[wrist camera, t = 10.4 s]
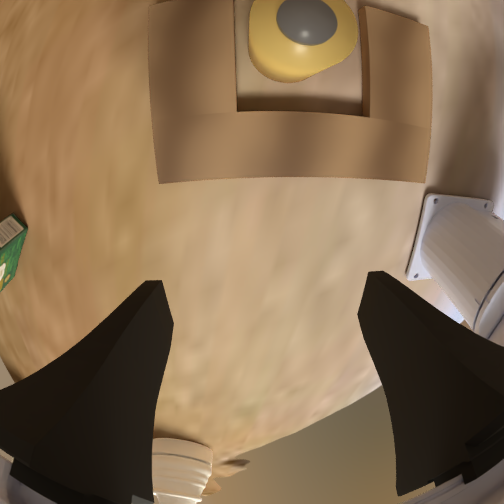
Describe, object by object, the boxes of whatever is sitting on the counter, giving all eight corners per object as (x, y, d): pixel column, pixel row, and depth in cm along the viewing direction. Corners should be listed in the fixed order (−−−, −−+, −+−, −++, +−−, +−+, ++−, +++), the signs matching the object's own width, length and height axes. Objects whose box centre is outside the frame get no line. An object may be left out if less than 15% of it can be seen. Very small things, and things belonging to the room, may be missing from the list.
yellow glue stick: (320, 23, 12) (357, -13, 6) (322, 85, 14) (363, 74, 8) (248, 19, 12) (248, -26, 6) (248, 82, 14) (250, 64, 8)
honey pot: (152, 449, 45) (143, 516, 29) (147, 432, 38) (135, 515, 23) (209, 459, 46) (206, 526, 31) (216, 444, 40) (213, 528, 25)
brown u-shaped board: (419, 29, 11) (428, 26, 10) (416, 178, 17) (425, 183, 16) (154, 10, 11) (149, 5, 10) (164, 179, 17) (158, 183, 16)
